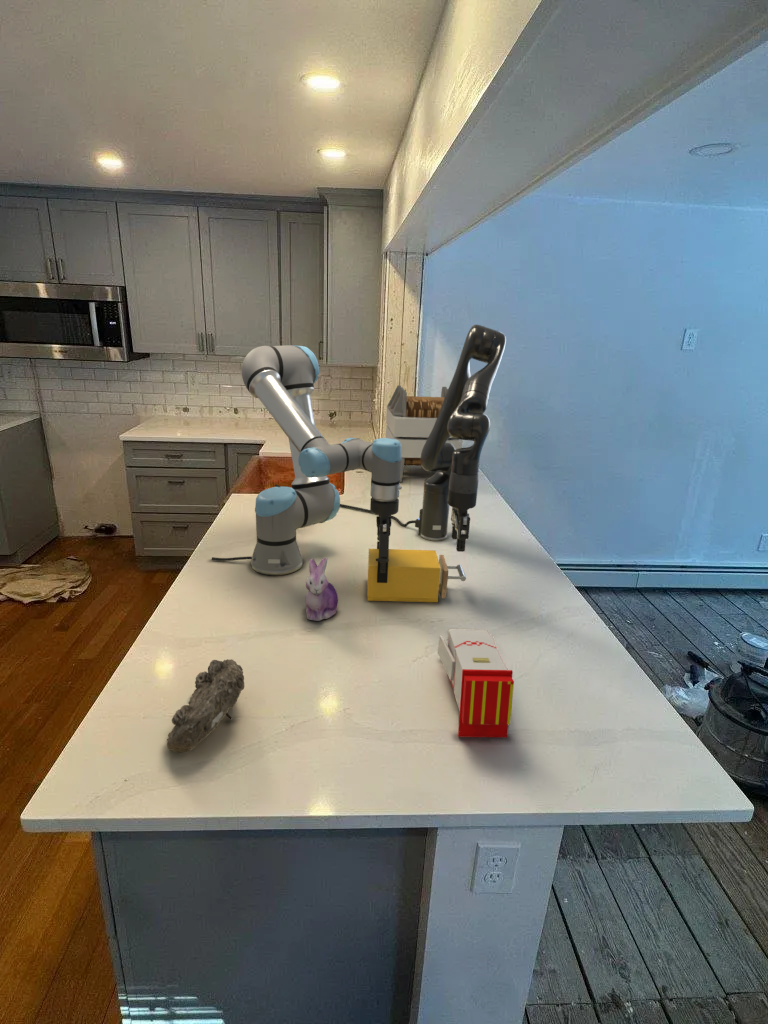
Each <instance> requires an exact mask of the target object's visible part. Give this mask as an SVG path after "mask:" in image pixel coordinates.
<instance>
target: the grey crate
mask: <svg viewBox="0 0 768 1024" xmlns="http://www.w3.org/2000/svg"><path fill="white" fill-rule="evenodd" d="M447 391H448V388H447V386H442V387H441V392H440V393H441V394H440V396H415V395H414V396H413V395H412V396H411V395H407V394H408V393H407V390H406V389H404V388H403V387H402V385H399V384H398V385H397V386H396V388H395V390H394V392H393V394H392V395H391V398H390V400H389V402H388V404H387V405H386V413H385V414H386V415H385V423H386V428H385V438H389V439H396V440H398V441H399V442H400V443H401V455H402V459H401V469H400V483H402V482H403V475H404V469H405V466H406V467H407V466H411V467H412V466H413V467H415V466H416V467H417V466H418V467H422V465H421V452H422V449H423V447H424V445H425V443H426V441H427V439H428V437H429V435H430V433H431V431H432V429H433V427H434V424H435V422H436V420H437V417H438V415H439V412H440V409H441V406H442V403H443V401H444V398H445V395H446V393H447ZM463 442H464V440H459V439H454V438H452V437H449V439H448V440H447V441H446V443H451V444H452V445H453V446H454V448H455V450H456V449H459V448H463Z"/></svg>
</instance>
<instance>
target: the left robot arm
mask: <svg viewBox="0 0 768 1024" xmlns="http://www.w3.org/2000/svg"><path fill="white" fill-rule="evenodd" d="M319 375H320V365H319V361H318V358H317V357H316V355H315V354H314V352H313V351H312V350H311V349H310V348H309V347H307V346H304V345H297V344H296V345H295V344H292V345H291V344H289V345H260V346H257V347H254V348H253V349H251V350H250V351H249V352H248V353H247V354H246V356H245V357H244V359H243V362H242V365H241V377H242V381H243V384H244V386H245V388H246V389H247V391H248V392H249V394H250V395H251V396H252V397H253V398H254V399H259V401H260V402H261V403H262V405H263V406H264V407H265V409H266V411H268V413H269V414H270V415H271V417H272V418H273V419H274V421H275V422H276V423H277V425H278V426H279V427H280V429H281V430H282V432H283V433H284V434H285V435H286V437H287V439H288V442H289V443H288V444H289V449H290V455H291V461H292V467H293V472H294V479H293V481H292V482H291V485H290V486H291V487H290V486H286V485H285V486H284V485H282V486H280V487H275V486H273V487H269V488H266V489H264V490H262V491H261V492H259V493H258V495H257V496H256V498H255V508H254V513H255V531H256V533H255V534H256V543H255V546H254V548H253V553H252V555H251V556H237V557H235V556H234V557H211V561H219V562H229V561H243V560H250V561H251V562H250V563H251V564H250V565H251V568H252V570H253V571H254V572H256V573H257V574H261V575H267V576H285V575H289V574H292V573H294V572H297V571H299V570H300V569H301V568H302V566H303V556H302V553H301V550H300V546H299V544H298V541H297V530H298V529H302V528H305V527H310V526H314V525H317V524H324V523H326V522H327V521H331V520H333V519H334V518H335V517H336V516H337V514H338V513H339V510H340V507H341V506H340V504H341V497H340V496H341V495H340V492H339V490H338V489H337V486H336V485H334V484H333V483H331V482H330V478H329V475H334V474H339V473H346V472H350V471H354V470H355V471H356V470H362V471H366V472H369V473H371V478H370V497H371V498H370V502H369V503H370V504H369V505H370V506H369V510H371V512H372V513H371V514H374V515H377V516H376V520H375V521H376V528H377V529H376V535H377V537H376V539H377V541H376V549H379V558H378V559H376V561H378V569H377V583H387V576H388V562H389V559H388V556H389V549H390V546H389V545H390V536H391V527H392V518H391V517H389V516H390V515H391V516H394V515H396V514H397V513H398V512H399V505H400V499H399V498H400V490H402V489H403V487H402V485H400V484H401V482H400V469H401V459H402V455H401V443H400V442H399V441H398V440H396V439H389V438H386V437H378V438H376V439H374V440H373V441H372V442H370V441H367V440H364V439H361V438H356V437H348V438H345V439H344V440H343V441H341V443H340V442H339V443H335V444H334V443H333V444H330V443H329V442H328V441H327V440H326V438H325V437H324V435H322V433H321V432H320V430H319V429H318V428H317V427H316V423H315V418H314V417H315V416H314V411H313V404H312V398H311V395H312V393H313V391H314V390H315V385H314V384H316V383H317V381H318V379H319Z"/></svg>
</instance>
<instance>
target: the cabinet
mask: <svg viewBox="0 0 768 1024" xmlns="http://www.w3.org/2000/svg"><path fill="white" fill-rule="evenodd" d="M367 556H368V557H367V558H368V559H367V562H368V563H367V601H370V602H404V603H405V602H407V603H409V602H410V603H438V601H439V592H440V589H439V580H440V564H439V557H438V554H437V550H433V549H432V550H431V549H401V548H397V549H395V548H389V556H388V559H389V562H388V576H387V583H377V569H378V561H376V559H378V558H379V549H377V548H368V555H367Z"/></svg>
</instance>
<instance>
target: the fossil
mask: <svg viewBox="0 0 768 1024" xmlns="http://www.w3.org/2000/svg"><path fill="white" fill-rule="evenodd" d="M243 670H244V669H243V667H242V665H240V664H237V662H236V661H235V660H234V659H232V658H231V659H227V658H226V659H224V660H223V661H222V660H217V659H212V660H211V661H210V663H209V665H208V666H207V671H201V672H199V673H198V674H197V675H196V676H195V680H194V684H195V685H194V687H195V689H194V690H193V693H192V694H191V697H190V698H189V700H188V704H184V705H182V706H181V707H180V709H177V710H176V711H175V713H174V715H173V716H172V718H171V723H172V724H173V727H172V730H171V731H170V732H168V734H167V738H166V741H167V742H166V745H167V749H168V750H169V751H173V752H174V753H176V754H178V753H182V752H188V751H189V752H192V751H193V750H195V748H196V747H197V746H199V744H200V743H201V742H203V741H204V740H205V739H206V738H207V737H208V736H209V735H210V734H211V733H212V732H214V730H215V729H217V727H218V726H219V724H220V722H221V721H222V720H223V719H224V718H225V716H226V717H227V719H229V720H233V717H232V715H230V714H229V710H230V709H231V708H234V706H235V704H236V703H237V702H238V699H239V697H240V695H241V693H242V691H243V690H245V689H244V688H245V675H244V671H243Z"/></svg>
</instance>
